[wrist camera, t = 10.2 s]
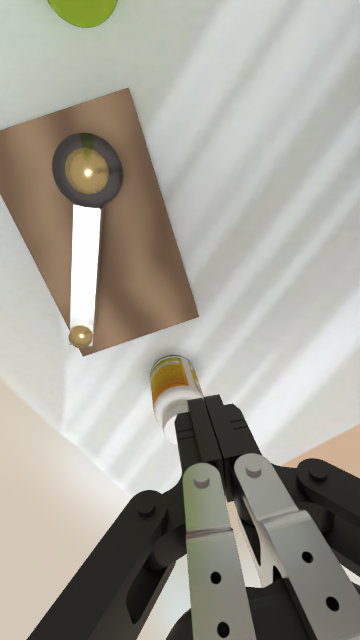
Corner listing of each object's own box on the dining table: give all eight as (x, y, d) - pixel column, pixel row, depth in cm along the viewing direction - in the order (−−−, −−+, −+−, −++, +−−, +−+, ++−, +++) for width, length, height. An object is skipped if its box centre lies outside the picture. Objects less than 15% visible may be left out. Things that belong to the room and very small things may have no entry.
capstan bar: (64, 135, 26) (50, 124, 22) (126, 146, 27) (125, 139, 23) (60, 325, 32) (49, 349, 28) (111, 330, 33) (108, 353, 29)
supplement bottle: (141, 382, 39) (145, 441, 30) (164, 347, 37) (175, 398, 28) (179, 398, 40) (193, 459, 32) (202, 365, 39) (223, 418, 30)
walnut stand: (128, 94, 27) (128, 87, 25) (195, 310, 36) (199, 317, 34) (-17, 142, 27) (-29, 139, 25) (85, 347, 36) (82, 357, 34)
